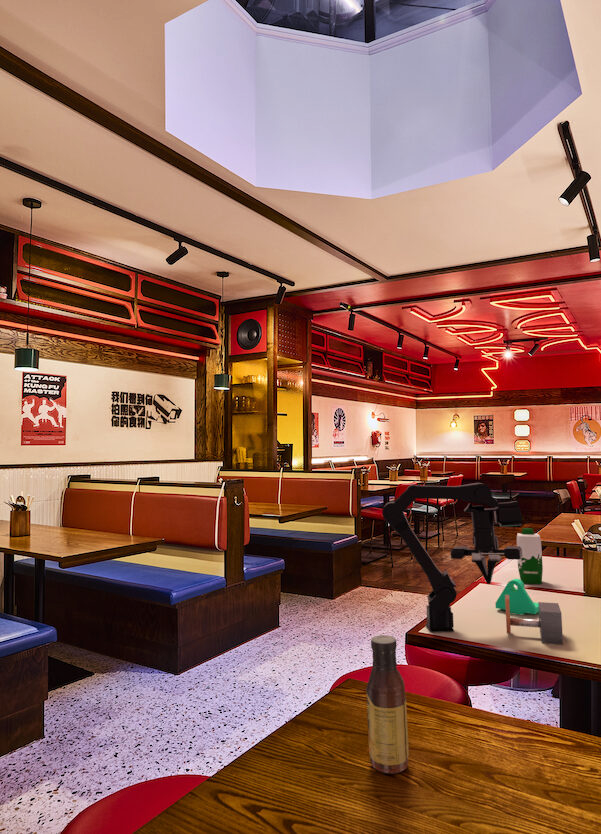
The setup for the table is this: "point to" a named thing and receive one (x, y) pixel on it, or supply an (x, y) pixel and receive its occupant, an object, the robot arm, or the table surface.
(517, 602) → the camera mount
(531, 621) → the lock pin
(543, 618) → the block
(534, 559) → the milk carton
